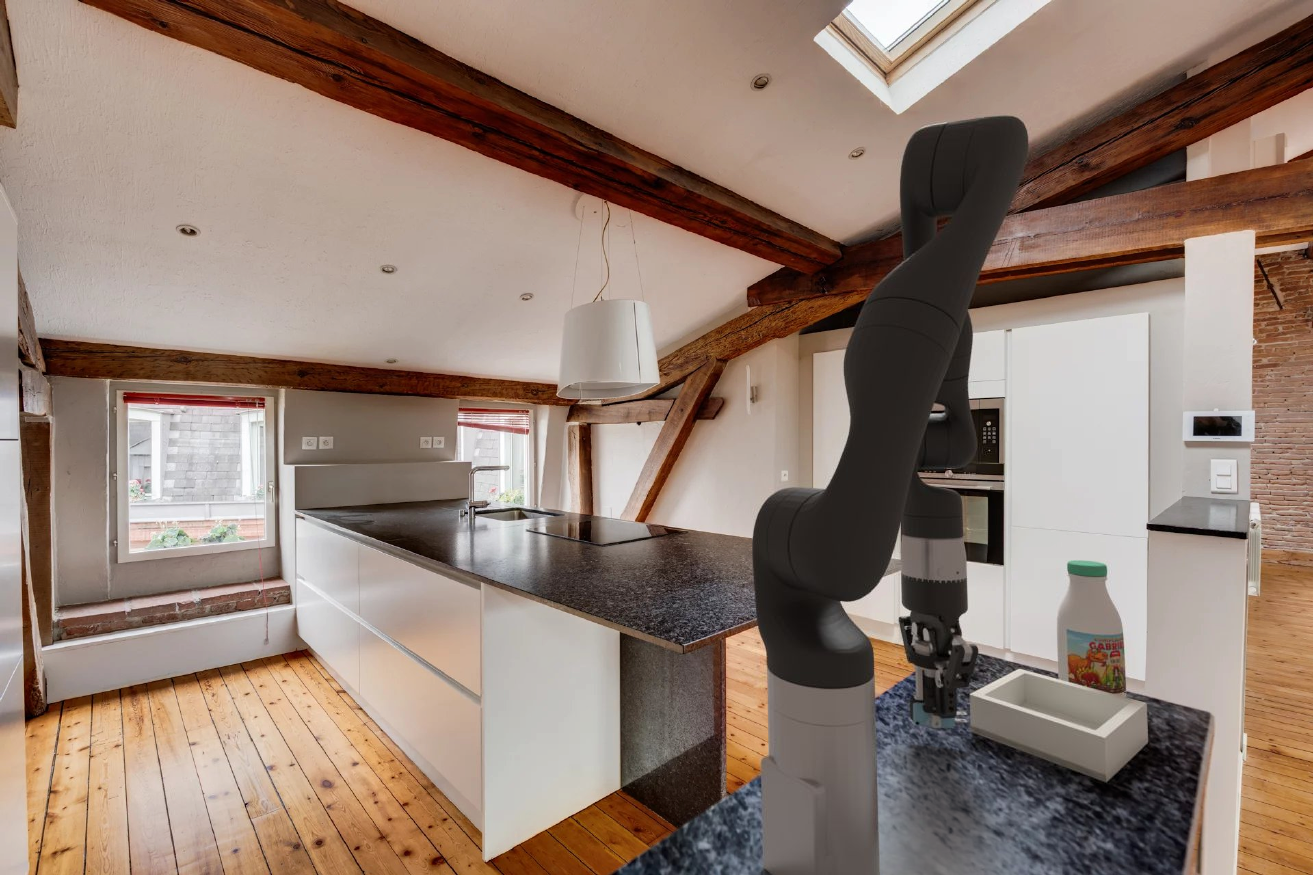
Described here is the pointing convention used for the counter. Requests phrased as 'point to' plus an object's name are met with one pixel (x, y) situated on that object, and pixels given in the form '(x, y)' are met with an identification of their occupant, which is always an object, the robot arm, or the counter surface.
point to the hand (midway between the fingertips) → (937, 709)
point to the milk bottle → (1090, 631)
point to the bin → (1061, 722)
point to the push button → (927, 689)
